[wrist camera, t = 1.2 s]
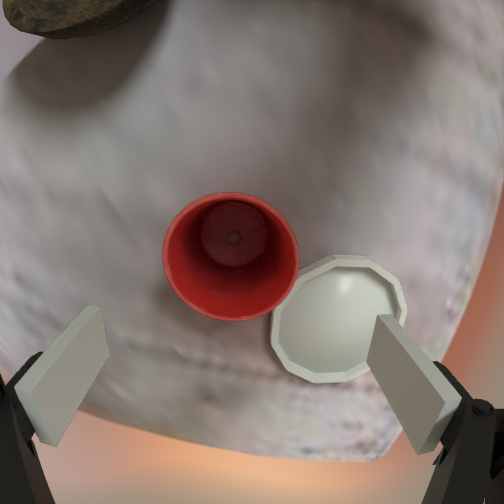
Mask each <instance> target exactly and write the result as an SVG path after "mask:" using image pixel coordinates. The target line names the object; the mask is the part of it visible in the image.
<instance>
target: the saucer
mask: <svg viewBox="0 0 504 504" xmlns="http://www.w3.org/2000/svg"><path fill="white" fill-rule="evenodd" d="M406 313H407V306H406V303H405V299H404V296H403V293H402V289H401V286H400V283H399V280H398V279H397V278H396V277H394V276H393V275H392V274H391V273H389V272H388V271H387V270H385V269H384V268H383V267H381V266H380V265H379V264H377V263H376V262H375V261H373V260H372V259H371V258H369V257H368V256H358V255H336V254H331V255H328V256H326V257H324V258H322V259H320V260H318V261H316V262H314V263H312V264H310V265H308V266H306V267H304V268H302V269H300V270H299V271H298V275H297V278H296V281H295V284H294V286H293V288H292V290H291V292H290V293H289V295H288V296H287V297H286V298H285V300H284V301H283V302H282V303H281V304H280V305H279V306H277V307H276V308H275V309H273V310H272V317H271V328H270V341H271V345H272V347H273V349H274V350H275V352H276V354H277V355H278V357H279V359H280V360H281V362H282V364H283V365H284V367H285V369H286V370H287V371H289V372H291V373H293V374H295V375H297V376H299V377H301V378H304V379H306V380H308V381H310V382H312V383H314V382H315V383H334V382H346V381H349V380H351V379H354V378H356V377H358V376H360V375H362V374H364V373H366V372H368V371H370V370H371V369H370V368H369V366H368V364H367V362H366V360H367V356H368V352H369V348H370V344H371V340H372V335H373V331H374V327H375V322H376V317H377V315H379V314H391V315H392V316H393V317H394V318H395V319H396V320H397V322H398V323H399V324H400V325H401V326H402V327H403V325H404V321H405V317H406Z"/></svg>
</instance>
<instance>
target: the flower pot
mask: <svg viewBox="0 0 504 504" xmlns="http://www.w3.org/2000/svg"><path fill="white" fill-rule="evenodd" d="M163 265H164V270H165V273H166V276H167V279H168V281H169V283H170V285H171V286H172V288H173V289H174V291H175V292H176V294H177V295H178V296H179V297H180V298H181V299H182V300H183V301H184V302H185V303H186V304H187V305H189V306H190V307H191V308H193V309H194V310H196V311H197V312H199V313H201V314H203V315H205V316H208V317H211V318H214V319H218V320H224V321H244V320H250V319H254V318H257V317H260V316H262V315H264V314H266V313H268V312H270V311H272V310H273V309H275V308H276V307H277V306H279V305H280V304H281V303H282V302H283V301H284V300H285V298H286V297H287V296H288V295H289V293H290V292H291V290H292V288H293V286H294V284H295V281H296V278H297V275H298V271H299V249H298V244H297V241H296V238H295V235H294V233H293V231H292V229H291V227H290V225H289V224H288V222H287V221H286V220H285V218H284V217H283V216H282V215H281V214H280V213H279V212H278V211H277V210H276V209H275V208H273V207H272V206H271V205H269V204H268V203H266V202H264V201H262V200H261V199H258V198H256V197H253V196H250V195H247V194H243V193H235V192H222V193H215V194H211V195H207V196H204V197H202V198H200V199H197V200H195V201H194V202H192V203H191V204H189V205H188V206H186V207H185V208H184V209H183V210H182V211H181V212H180V213H179V214H178V215H177V216H176V217H175V219H174V220H173V221H172V223H171V225H170V226H169V228H168V231H167V233H166V236H165V239H164V244H163Z"/></svg>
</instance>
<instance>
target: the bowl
mask: <svg viewBox="0 0 504 504" xmlns="http://www.w3.org/2000/svg"><path fill="white" fill-rule="evenodd" d="M156 1H157V0H3V10H4V14H5V17H6V19H7V20H8V21H9V23H10V25H12V26H13V27H15V28H16V29H18V30H19V31H22V32H26V33H30V34H34V35H38V36H42V37H46V38H50V39H70V38H76V37H82V36H88V35H93V34H96V33H99V32H102V31H105V30H108V29H110V28H113V27H115V26H117V25H119V24H121V23H124V22H126V21H127V20H129V19H131V18H132V17H134V16H136V15H137V14H139V13H141V12H142V11H144V10H145V9H146V8H148V7H149V6H150V5H152V4H153V3H154V2H156Z"/></svg>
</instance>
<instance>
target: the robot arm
mask: <svg viewBox="0 0 504 504" xmlns="http://www.w3.org/2000/svg"><path fill="white" fill-rule="evenodd" d="M109 355H110V354H109V349H108V344H107V339H106V333H105V328H104V322H103V316H102V310H101V307H99V306H89V305H87V306H86V307H85V308H84V309H83V311H82V312H81V313H80V314H79V315H78V316H77V317H76V318H75V319H74V320H73V321H72V322H71V323H70V324H69V325H68V326H67V327H66V329H65V330H64V331H63V332H62V333H61V334H60V335H59V336H58V337H57V338H56V339H55V340H54V342H53V343H52V344H51V345H50V346H49V347H48V348H47V349H46V350H45V352H38V353H37V354H35V355H33V356H32V357H30V358H29V359H28V361H27V362H26V363H25V365H23V366H22V367H21V368H20V371H18V372H17V373H16V374H15V375H14V376H13V377H12V379H11V380H10V381H9V382H8V383H7V384H6V386H5V384H4V382H3V379H2V377H1V374H0V504H55V501H54V499H53V497H52V494H51V492H50V489H49V487H48V484H47V481H46V478H45V476H44V473H43V470H42V467H41V464H40V461H39V458H38V455H37V451H36V448H35V445H34V443H33V441H32V439H31V438H32V436H33V434H34V433H35V432H36V435H37V436H38V438H39V440H40V442H42V443H45V444H48V445H51V446H54V447H57V446H58V444H59V442H60V440H61V438H62V436H63V435H64V433H65V431H66V429H67V427H68V425H69V424H70V422H71V420H72V418H73V416H74V414H75V413H76V411H77V409H78V408H79V406H80V404H81V402H82V401H83V399H84V397H85V395H86V394H87V392H88V390H89V389H90V387H91V385H92V383H93V382H94V380H95V378H96V377H97V375H98V373H99V372H100V370H101V368H102V367H103V365H104V363H105V362H106V360H107V358H108V357H109ZM366 362H367V364H368V366H369V368H370V369H371V371H372V373H373V375H374V376H375V378H376V380H377V382H378V384H379V385H380V387H381V389H382V391H383V393H384V394H385V396H386V398H387V400H388V402H389V403H390V405H391V407H392V409H393V411H394V412H395V414H396V416H397V418H398V420H399V422H400V423H401V425H402V427H403V429H404V431H405V433H406V435H407V437H408V438H409V440H410V442H411V444H412V446H413V448H414V450H415V452H416V454H417V455H420V454H424V453H428V452H431V451H434V449H435V448H436V446H437V444H438V442H439V441H441V443H442V445H443V446H444V447H443V449H442V450H441V452H440V454H439V455H438V457H437V458H436V460H435V461H434V463H433V465H435V464H436V463H437V464H436V467H435V470H434V472H433V475H432V478H431V481H430V483H429V486H428V489H427V491H426V494H425V496H424V499H423V501H422V504H483V503H484V498H485V504H504V409H495V408H494V407H493V405H492V404H490V403H489V402H488V401H485V400H483V399H473V398H472V397H471V396H470V395H469V393H468V392H467V391H466V390H465V389H464V387H463V386H462V385H461V384H460V383H459V382H458V381H457V379H456V378H455V377H454V376H452V373H451V372H450V371H449V370H448V369H447V368H446V367H445V366H444V365H442V364H441V363H439V362H437V361H434V362H432V361H431V360H430V358H429V357H428V356H427V355H426V354H425V353H424V351H423V350H422V349H421V348H420V347H419V346H418V344H417V343H416V342H415V341H414V340H413V339H412V337H411V336H410V335H409V334H408V333H407V332H406V331H405V329H404V328H403V327H402V326H401V325H400V324H399V323H398V322H397V320H396V319H395V318H394V317H393V316H392V315H391V314H379V315H377V317H376V322H375V327H374V331H373V335H372V340H371V344H370V348H369V352H368V356H367V360H366Z"/></svg>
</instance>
